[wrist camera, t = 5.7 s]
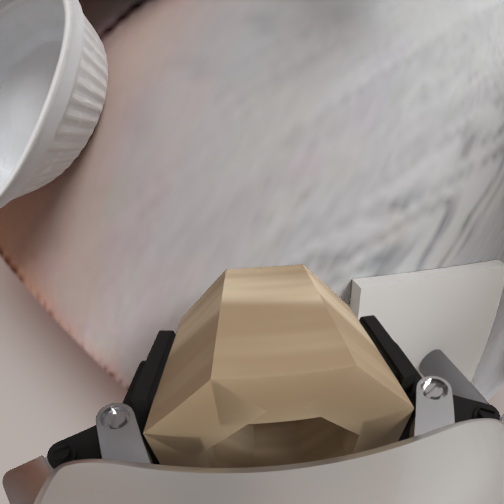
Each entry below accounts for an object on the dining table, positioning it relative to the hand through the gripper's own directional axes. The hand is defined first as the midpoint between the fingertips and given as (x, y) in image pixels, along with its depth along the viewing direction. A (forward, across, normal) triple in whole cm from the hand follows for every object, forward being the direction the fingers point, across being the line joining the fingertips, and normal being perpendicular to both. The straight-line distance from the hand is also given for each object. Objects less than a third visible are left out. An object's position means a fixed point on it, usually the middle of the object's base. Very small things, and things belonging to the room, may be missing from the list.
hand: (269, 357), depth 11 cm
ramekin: (+7, +14, -14) cm, 21 cm away
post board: (+7, -13, +7) cm, 17 cm away
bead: (+1, 0, 0) cm, 1 cm away
